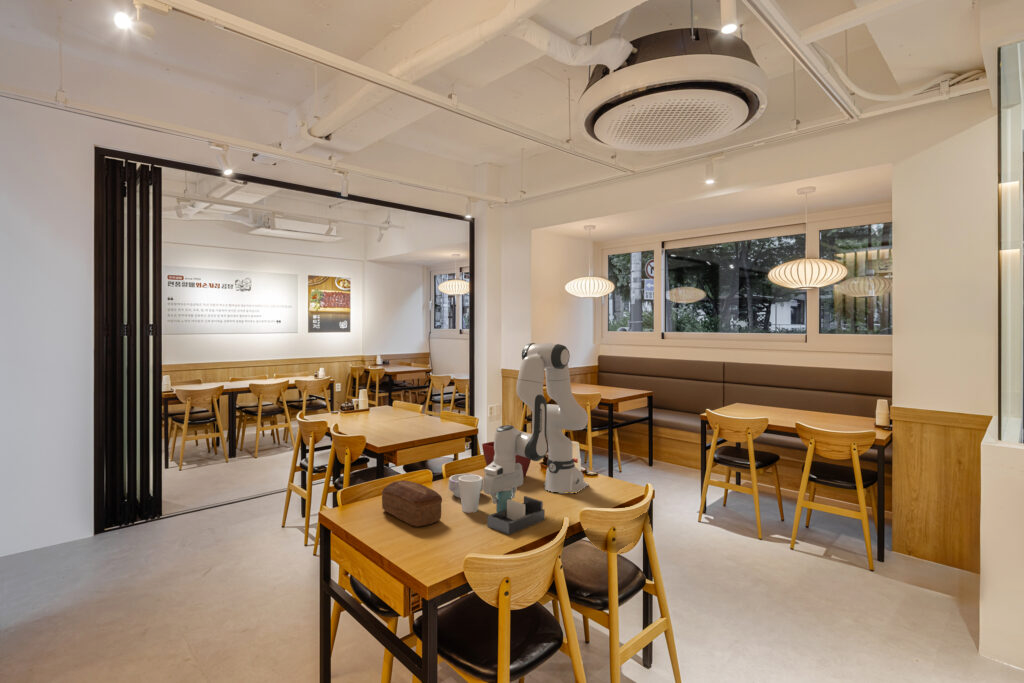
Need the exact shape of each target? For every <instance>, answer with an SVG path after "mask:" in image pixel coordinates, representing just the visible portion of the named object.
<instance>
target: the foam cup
mask: <svg viewBox="0 0 1024 683" xmlns="http://www.w3.org/2000/svg"><path fill="white" fill-rule="evenodd" d="M477 475H478V474H475V475H464V476H460V477H459V487H460V496H461V498H460V502H461V511H462V512H463V513H467V514H470V513H471V512H473V513H476V512H478V510H479V503H480V495H481V491H480V490H481V485H482V477H483V476H481V475H479V476H477ZM480 476H481V477H480ZM471 514H472V513H471Z"/></svg>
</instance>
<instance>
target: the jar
mask: <svg viewBox="0 0 1024 683" xmlns="http://www.w3.org/2000/svg"><path fill="white" fill-rule="evenodd" d="M511 491H512V486H511V487H508V488H505V489H504V490H503V491H501V492H498V493H497V495H496V498H497V499H499V501H498V503H497V504H495V505H496V508H495V509H496V513H497V512H500V511H502V510H505V509H507V500H508V499H510V500H512V499H511Z"/></svg>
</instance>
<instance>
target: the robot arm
mask: <svg viewBox="0 0 1024 683" xmlns="http://www.w3.org/2000/svg"><path fill="white" fill-rule="evenodd" d="M570 356H571V355H570V351H569V349H568V348H567V346H565V345H563V344H560V343H550V342H536V343H535V342H532V343H531V342H530V343H528V344H526V345H525V346H524V347H523V348H522V351H521V359H522V361H521V363H520V364H521V365H520V367H519V371H518V375H517V381H516V394H517V397H518V398H519V399H520V400H521V402H523V403H524V404H525V405H526V406H527V407H528V408H529V410H530V411H531V415H532V420H531V433H528V432H524V431H521V430H518V429H517V428H515V427H514V426H513V425H509V424H505V425H500V426H498V427H497V428H495V429H496V430H495V432H494V436H493V437H494V438H493V439H494V440H493V442H494V451H495V455H494V461H493V462H492V463H491V464H489V465H488V466H487V465H486V466H485V467H484V469H483V472H484V473H485V474H484V477H483V490H482V491H483V493H484V494H486V495H489V496H490V497H491V498H492V503H493V505H497V503H498V501H499V499H497V493H498V492H501V491H503V490H504V489H505V488H508V487H511V486H512V491H511V500H512V499H515V496H516V495H515V494H516V492H517V489H518V487H520V486H523V485H524V478H523V470H522V465H521V464H520V463H516V464H515V456H516V455H519V456H522V457H526V458H528V459H530V460H531V461H532V462H539V461H541V460H542V459H544V458H545V456H546V455H547V453H548V457H547V466H548V467H547V468H546V472H545V473H546V474H545V481H544V482H543V486H544V485H545V486H544V490H545V491H547V490H548V491H547V492H549V491H551V492H550V493H553V492H559V493H558V494H566V493H565V492H578V491H579V490H581V489H583V488H584V489H586V488H587V487H586V486H588V485H589V483H588V482H586V481H584V473H583V472H582V471H581V470H579V468H577V467H576V464H577V463H578V462H579V459H578V458H575V457H573V452H574V451H573V450H574V449H573V448H574V447H573V442H572V440H571V438H569V437H567V436H566V435H565V434H564V432H563V430H566V431H580V430H581V431H582V430H584V429H585V428H586V427H587V425H588V423H589V415H588V412H587V411H586V409H585V408H584V407H582V406H581V405H580V404H579V403H578V401H577V399H576V398H575V396H574V395H573V392H572V391H573V390H572V387H571V376H570V369H569V362H570V358H571V357H570ZM544 381H545V385H546V386H545V387H546V393H547V395H548V397H549V398H550V399H551V400H552V401H555V403H556V404H552V403H551V404H549V403H547V400H546V397H545V395H544ZM575 463H576V464H575ZM589 486H590V485H589ZM589 486H588V487H589ZM585 487H586V488H585ZM584 489H583V490H584ZM581 491H582V490H581ZM578 493H579V492H578Z"/></svg>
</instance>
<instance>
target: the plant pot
mask: <svg viewBox="0 0 1024 683" xmlns="http://www.w3.org/2000/svg"><path fill="white" fill-rule="evenodd" d="M481 447H482V452H483V456H484V461H485V464H486V467H487V466H488V465H489V464H491V463H492V462H493V461H494V455H495V451H494V441H489V442H485V443H482V445H481ZM531 461H532V460H530V459H528V458H526V457H522V456H519V455H516V456H515V464H516V463H520V464H521V465H522V470H523V479H524V477H525V478H526V475H527V473H528V470H529V468H530V465H531Z"/></svg>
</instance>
